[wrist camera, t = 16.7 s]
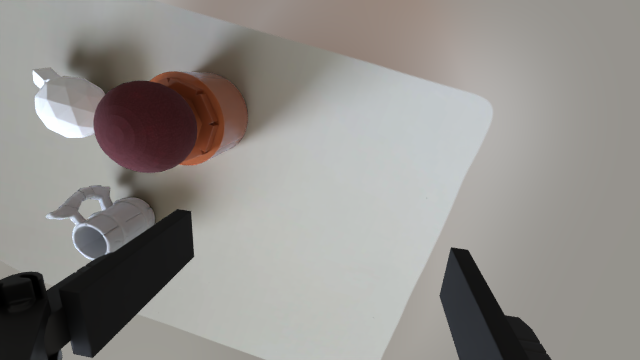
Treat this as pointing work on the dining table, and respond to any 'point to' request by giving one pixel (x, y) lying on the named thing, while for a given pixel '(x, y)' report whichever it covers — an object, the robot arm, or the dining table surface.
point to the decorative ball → (145, 126)
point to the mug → (105, 221)
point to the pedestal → (210, 111)
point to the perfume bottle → (66, 103)
